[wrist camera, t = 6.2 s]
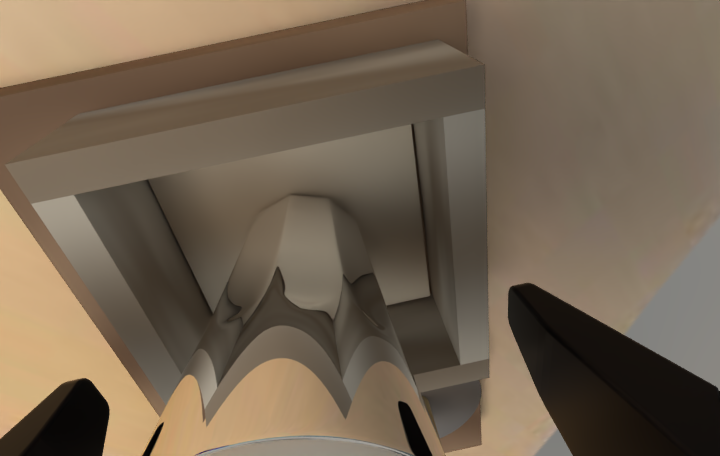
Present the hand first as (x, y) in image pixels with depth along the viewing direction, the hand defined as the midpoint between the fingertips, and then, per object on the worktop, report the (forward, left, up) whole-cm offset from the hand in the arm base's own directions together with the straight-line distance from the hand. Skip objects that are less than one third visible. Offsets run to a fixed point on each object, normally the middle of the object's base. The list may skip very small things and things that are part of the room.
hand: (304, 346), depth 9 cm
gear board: (-4, +1, -6) cm, 7 cm away
